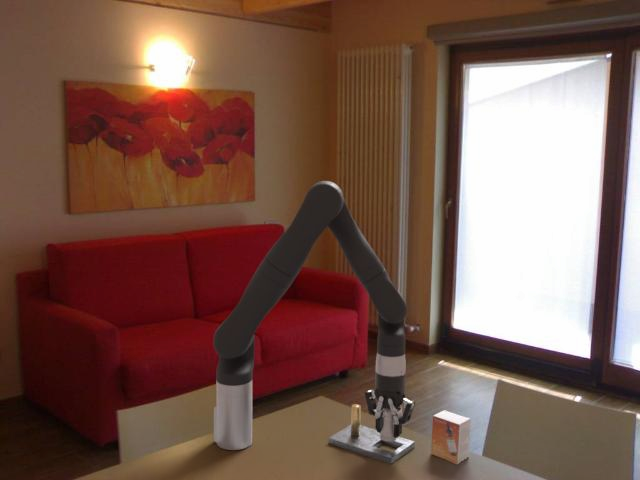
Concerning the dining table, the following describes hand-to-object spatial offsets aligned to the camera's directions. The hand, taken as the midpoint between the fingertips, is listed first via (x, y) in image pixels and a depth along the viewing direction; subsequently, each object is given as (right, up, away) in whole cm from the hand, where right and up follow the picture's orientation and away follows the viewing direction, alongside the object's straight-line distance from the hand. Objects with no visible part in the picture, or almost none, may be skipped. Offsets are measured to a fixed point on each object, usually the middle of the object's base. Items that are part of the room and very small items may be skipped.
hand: (388, 433), depth 176 cm
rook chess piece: (0, -2, 0) cm, 1 cm away
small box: (+15, -5, -2) cm, 16 cm away
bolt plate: (-4, -4, +4) cm, 7 cm away
